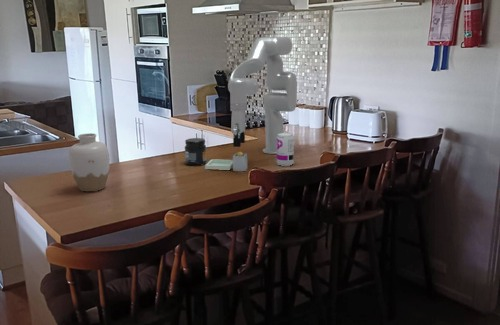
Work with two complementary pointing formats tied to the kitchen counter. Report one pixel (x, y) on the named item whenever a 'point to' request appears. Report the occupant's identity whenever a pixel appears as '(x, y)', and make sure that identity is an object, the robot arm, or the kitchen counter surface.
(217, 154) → the kitchen counter surface
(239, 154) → the ball
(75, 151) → the vase
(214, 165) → the tray
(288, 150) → the supplement can
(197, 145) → the supplement container
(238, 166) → the hollow metal cube
